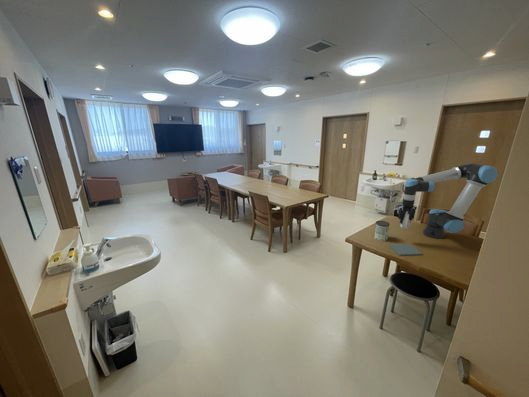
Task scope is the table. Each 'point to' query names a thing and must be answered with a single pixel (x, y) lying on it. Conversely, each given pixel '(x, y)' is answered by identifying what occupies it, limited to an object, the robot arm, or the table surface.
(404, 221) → the chalk stick
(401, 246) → the slate board
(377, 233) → the coffee can
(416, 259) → the table surface
